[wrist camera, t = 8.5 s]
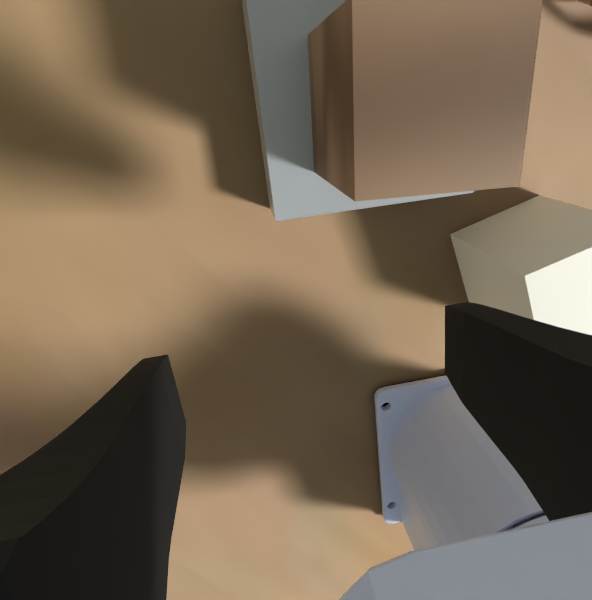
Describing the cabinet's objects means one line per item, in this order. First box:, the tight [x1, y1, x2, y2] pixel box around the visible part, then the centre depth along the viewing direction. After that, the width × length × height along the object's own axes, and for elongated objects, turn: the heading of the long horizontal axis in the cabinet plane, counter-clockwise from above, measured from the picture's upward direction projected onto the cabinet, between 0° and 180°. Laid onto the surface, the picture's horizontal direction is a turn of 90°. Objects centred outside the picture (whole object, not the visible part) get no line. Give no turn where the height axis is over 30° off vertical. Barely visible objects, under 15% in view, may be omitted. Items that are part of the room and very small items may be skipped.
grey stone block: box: [242, 0, 474, 221], centre depth 18 cm, size 8×8×3 cm
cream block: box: [450, 195, 592, 335], centre depth 20 cm, size 4×4×6 cm
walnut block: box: [308, 0, 543, 201], centre depth 14 cm, size 4×4×6 cm
